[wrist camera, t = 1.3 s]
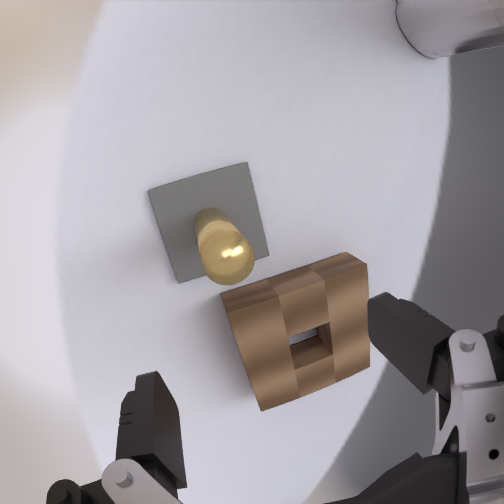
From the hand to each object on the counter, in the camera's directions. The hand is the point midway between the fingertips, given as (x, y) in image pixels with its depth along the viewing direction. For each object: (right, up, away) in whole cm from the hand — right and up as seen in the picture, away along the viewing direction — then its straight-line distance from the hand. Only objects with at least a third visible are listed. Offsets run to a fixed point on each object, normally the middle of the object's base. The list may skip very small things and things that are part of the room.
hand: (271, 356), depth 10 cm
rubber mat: (-4, +6, +17) cm, 18 cm away
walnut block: (+4, -5, +22) cm, 23 cm away
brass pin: (-4, +6, +16) cm, 18 cm away
